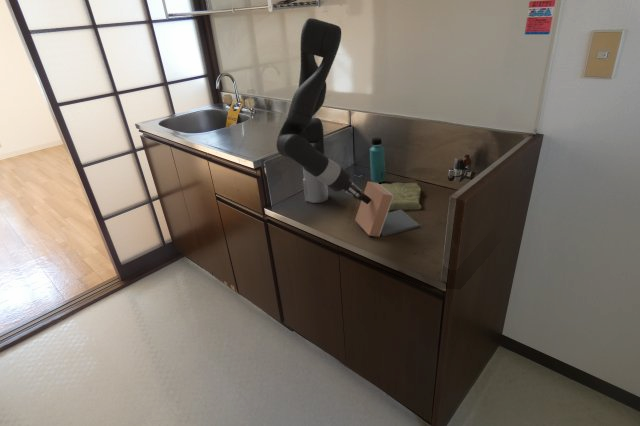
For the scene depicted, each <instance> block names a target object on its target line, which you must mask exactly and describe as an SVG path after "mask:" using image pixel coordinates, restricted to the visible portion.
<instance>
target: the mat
mask: <svg viewBox="0 0 640 426" xmlns="http://www.w3.org/2000/svg"><path fill="white" fill-rule="evenodd" d="M417 228H420V223H418V222H417V221H416V220H415V219H413V218H412V217H411V216H410V215H409V214H407V213H406V212H405V210H392V211H388V214H387V216H386V219H385V222H384V225H383V228H382V230H381V233H380V235H381V237H387V236H389V235H395V234H397V233H402V232H404V231H408V230H412V229H417Z"/></svg>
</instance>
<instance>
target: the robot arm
mask: <svg viewBox="0 0 640 426" xmlns="http://www.w3.org/2000/svg"><path fill="white" fill-rule="evenodd" d="M341 40H342V28H341V27H340V26H339V25H336V24H334V23H330V22H327V21H323V20H320V19H317V18H311V17H310V18H309V17H308V19H306V20H305V21H304V23H303V25H302V29H301V33H300V46H299V47H300V71H299V79H298V80H299V81H298V88H297V89H296V90H295V92H294V94H293V97H292V100H291V103H290V106H289V110H288V113H287V116H286V119H285V121H284V123H283V125H282V127H281V129H280V131H279V133H278V136H277V138H276V149H277V152H278V153H279V154H280V155H281V156H282V157H285V158H289V159H291V160H293V161H295V162H296V163H298V164H299V165H300V166H301V167H302V171H303V174H302V175H303V179H302V186H303V192H304V193H303V194H304V202H309V203H312V204H317V203H323V202H325V201H327V200H328V199H329V190H328V188H329V189H330V190H332V191H333V192H336V193H337V192H341V191H343V192H344V193H345V194H346V195H350V196H351V197H352V198H354V199H356V200H357V201H360V202H361V200H362V201H363V202H365V203H366V204H368V203H369V202H370V201H371V198H369V197H368V196H367V195H365V194H364V191H362V189H361V188H360V187H359V186H357V184H355V182H353V181H352V180H351V175H350V173H349V171H347V170H346V169H344V167H342V166H341V165H339V164H338V163H337V162H336V161H334V160H332V159H331V158H328V157H327V156H326V155H325V140H324V139H325V138H324V137H325V134H324V127H323V126H324V125H323V122H322V120H321V119H320V118H318V117H314V116H315V114H316V113H318V112H319V110H320V109H321V108H322V107H323V104H325V99H326V93H327V78H328V77H329V73H330V71H331V68H332V66H333V63H334V61H335V59H336V56H337V54H338V50H339V48H340V44H341ZM316 56H317V57H319V58H322V60H321V62H320V64H319V65H318V63H317V62H316V61H317V60H316V58H315V57H316Z"/></svg>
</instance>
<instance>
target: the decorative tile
mask: <svg viewBox="0 0 640 426" xmlns="http://www.w3.org/2000/svg"><path fill="white" fill-rule="evenodd" d="M380 185H381V186H382V187H383V188H385V189H386V190H387V191H388V192H390V193H391V194H392V195H394V197H393V200H392V203H391V205H390V208H389V211H388V212H393V211H397V210H402V211H408V210H411V211H412V210H421V209H422V205H421V204H420V199H421V193H422V188H421V187H420V185H418V183H417V182H404V183H403V182H393V183H381V184H380Z"/></svg>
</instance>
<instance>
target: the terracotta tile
mask: <svg viewBox="0 0 640 426" xmlns="http://www.w3.org/2000/svg"><path fill="white" fill-rule="evenodd" d="M363 193H364V194H365V195H367V196H368V197H369V198H371V201H370V202H369V203H368V204H366V203H365V202H363V201H362V200H361V201H360V204H359V207H358V210H357V213H356V215H355V216H356V217H355V218H354V221H355V222H356V223H357V224H358V225H359V226H360V227H361V229H363V230H364V231H365V233H366V234H367V235H368V236H372V237H379V238H380V235H381V234H380V233H381V230H382V228H383V225H384V222H385V219H386V216H387V214H388V213H389V212H390V211H389V208H390V205H391V203H392V200H393V197H394V195H392V194H391V193H390V192H388V191H387V190H386V189H385V188H383V187H382V186H381V185H380V184H379V182H373V181H367V183H366V185H365V188H364V191H363Z"/></svg>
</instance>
